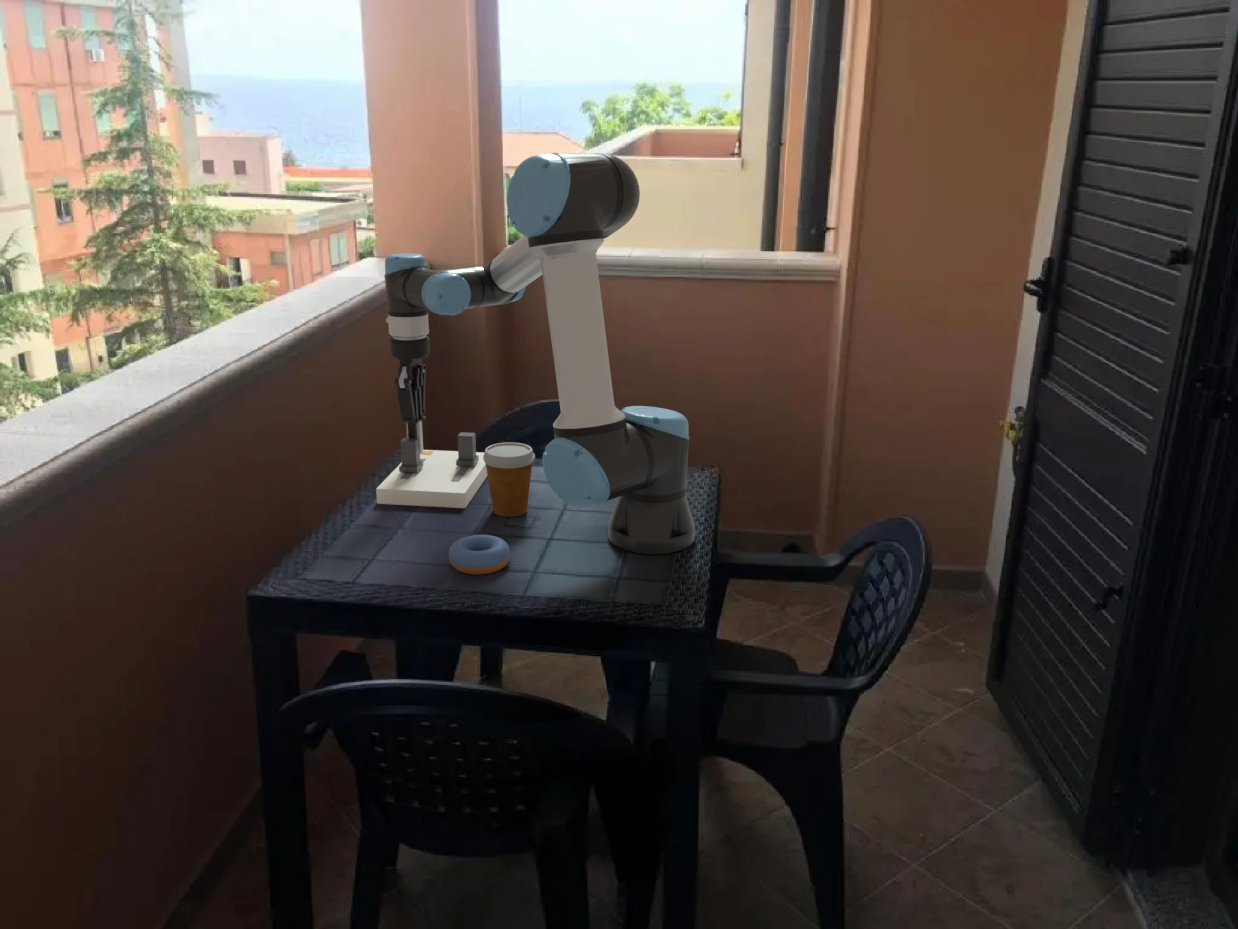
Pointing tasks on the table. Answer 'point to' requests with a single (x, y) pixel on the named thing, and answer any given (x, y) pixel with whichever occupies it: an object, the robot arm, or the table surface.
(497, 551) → the doughnut
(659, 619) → the table surface
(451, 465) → the panel
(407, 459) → the block
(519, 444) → the disposable coffee cup
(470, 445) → the block
